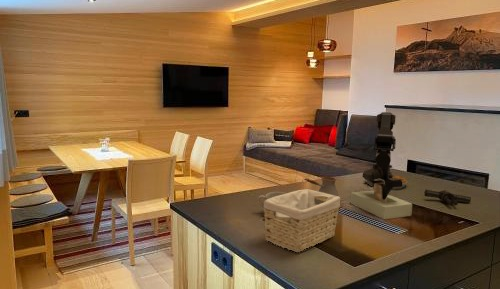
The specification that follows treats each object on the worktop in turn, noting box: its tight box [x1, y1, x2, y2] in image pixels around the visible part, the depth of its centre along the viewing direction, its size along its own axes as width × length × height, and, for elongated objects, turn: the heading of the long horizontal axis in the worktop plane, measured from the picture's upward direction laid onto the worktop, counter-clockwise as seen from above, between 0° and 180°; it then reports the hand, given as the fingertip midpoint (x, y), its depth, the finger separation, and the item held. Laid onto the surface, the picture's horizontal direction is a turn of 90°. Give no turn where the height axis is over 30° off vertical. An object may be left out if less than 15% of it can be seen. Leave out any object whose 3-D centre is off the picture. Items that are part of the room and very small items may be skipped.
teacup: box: [257, 191, 287, 208], centre depth 150 cm, size 14×11×8 cm
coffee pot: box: [301, 176, 342, 205], centre depth 156 cm, size 21×12×15 cm, turn 128°
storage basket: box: [263, 188, 341, 253], centre depth 124 cm, size 24×16×15 cm
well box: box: [350, 189, 413, 220], centre depth 158 cm, size 22×14×5 cm, turn 21°
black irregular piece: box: [424, 189, 472, 206], centre depth 166 cm, size 5×20×15 cm
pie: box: [365, 174, 408, 190], centre depth 200 cm, size 22×22×5 cm
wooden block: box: [373, 183, 387, 203], centre depth 157 cm, size 4×4×8 cm
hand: (380, 197), depth 158 cm, fingers closed on wooden block, 4 cm apart
